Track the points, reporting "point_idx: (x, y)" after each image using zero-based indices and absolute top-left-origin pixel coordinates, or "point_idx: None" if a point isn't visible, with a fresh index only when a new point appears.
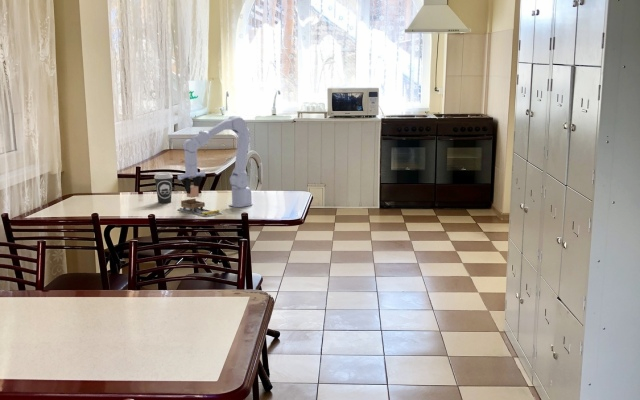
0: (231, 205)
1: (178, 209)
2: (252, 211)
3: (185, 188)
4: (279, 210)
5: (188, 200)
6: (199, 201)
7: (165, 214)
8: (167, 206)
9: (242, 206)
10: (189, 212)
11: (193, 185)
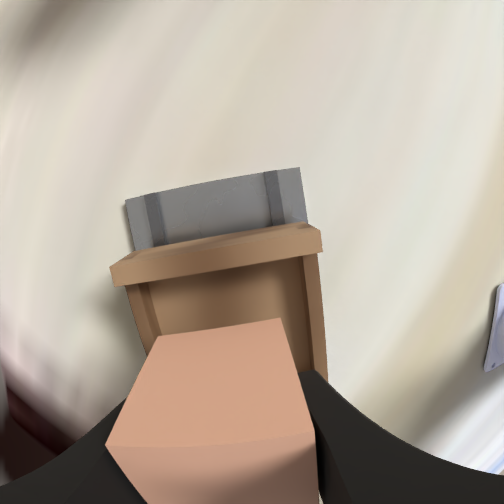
0: (495, 318)
1: (128, 213)
2: (447, 455)
3: (91, 436)
4: (492, 457)
5: (208, 268)
6: (320, 322)
7: (23, 290)
8: (145, 4)
9: (502, 362)
10: None
11: (313, 437)
